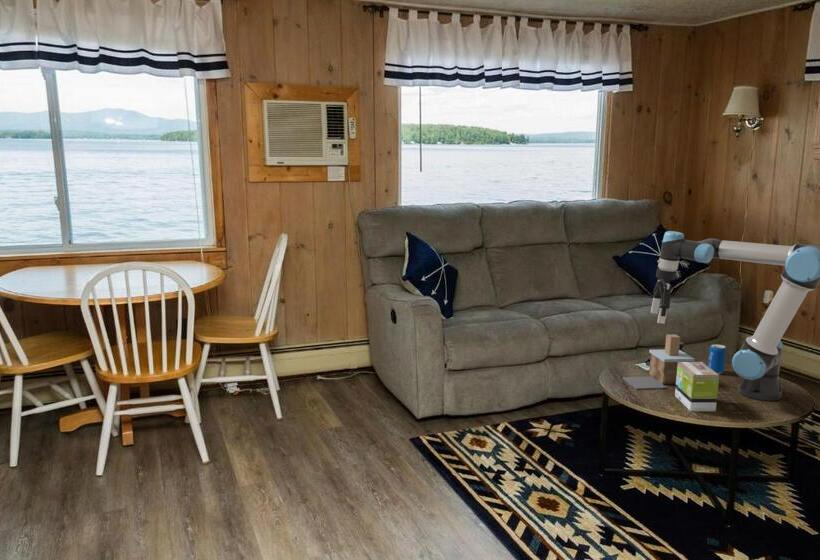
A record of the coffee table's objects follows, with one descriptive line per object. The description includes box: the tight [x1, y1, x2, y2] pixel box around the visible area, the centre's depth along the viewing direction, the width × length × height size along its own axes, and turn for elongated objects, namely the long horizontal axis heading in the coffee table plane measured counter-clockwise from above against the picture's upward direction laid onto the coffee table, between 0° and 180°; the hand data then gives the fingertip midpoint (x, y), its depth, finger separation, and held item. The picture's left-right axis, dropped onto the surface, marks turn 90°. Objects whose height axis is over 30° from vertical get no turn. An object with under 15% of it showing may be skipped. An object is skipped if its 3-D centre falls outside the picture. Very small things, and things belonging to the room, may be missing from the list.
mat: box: [622, 375, 668, 390], centre depth 268 cm, size 13×13×1 cm
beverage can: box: [707, 343, 727, 375], centre depth 281 cm, size 6×6×12 cm
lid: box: [648, 333, 695, 362], centre depth 270 cm, size 13×13×10 cm
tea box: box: [674, 361, 720, 412], centre depth 245 cm, size 15×10×15 cm
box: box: [648, 353, 693, 385], centre depth 272 cm, size 12×12×10 cm
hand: (657, 318), depth 270 cm, fingers open, 13 cm apart
